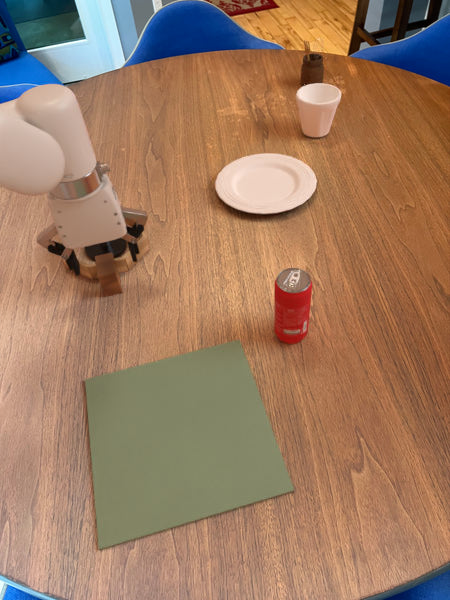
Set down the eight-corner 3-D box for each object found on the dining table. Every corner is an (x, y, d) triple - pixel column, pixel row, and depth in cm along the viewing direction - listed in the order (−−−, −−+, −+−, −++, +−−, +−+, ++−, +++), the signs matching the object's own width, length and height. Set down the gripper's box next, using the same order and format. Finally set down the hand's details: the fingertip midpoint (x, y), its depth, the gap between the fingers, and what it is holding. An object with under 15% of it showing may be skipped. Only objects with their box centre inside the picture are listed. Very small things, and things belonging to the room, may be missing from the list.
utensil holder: (327, 82, 129) (331, 35, 120) (312, 91, 126) (316, 43, 117) (309, 77, 132) (312, 30, 123) (295, 85, 129) (297, 38, 120)
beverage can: (269, 341, 74) (269, 288, 65) (279, 316, 77) (281, 263, 68) (302, 350, 72) (307, 297, 63) (311, 324, 75) (316, 270, 66)
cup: (340, 142, 109) (344, 102, 102) (296, 144, 110) (297, 105, 103) (334, 119, 116) (338, 81, 109) (292, 122, 116) (294, 84, 109)
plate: (300, 153, 107) (300, 146, 106) (329, 210, 93) (330, 202, 92) (208, 168, 106) (208, 161, 104) (224, 228, 92) (224, 220, 91)
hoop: (67, 305, 82) (58, 286, 78) (63, 230, 95) (54, 210, 91) (158, 284, 84) (153, 263, 80) (141, 213, 97) (136, 192, 93)
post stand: (87, 265, 88) (72, 229, 81) (84, 238, 93) (70, 201, 86) (130, 255, 89) (118, 218, 82) (124, 229, 94) (113, 192, 87)
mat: (99, 550, 56) (98, 549, 55) (85, 380, 71) (84, 379, 71) (294, 491, 59) (294, 490, 58) (239, 340, 74) (239, 339, 74)
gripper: (130, 151, 71) (153, 237, 84) (13, 176, 69) (54, 260, 82) (138, 179, 66) (160, 266, 79) (11, 207, 64) (55, 291, 77)
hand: (106, 263), depth 81 cm, fingers open, 9 cm apart
